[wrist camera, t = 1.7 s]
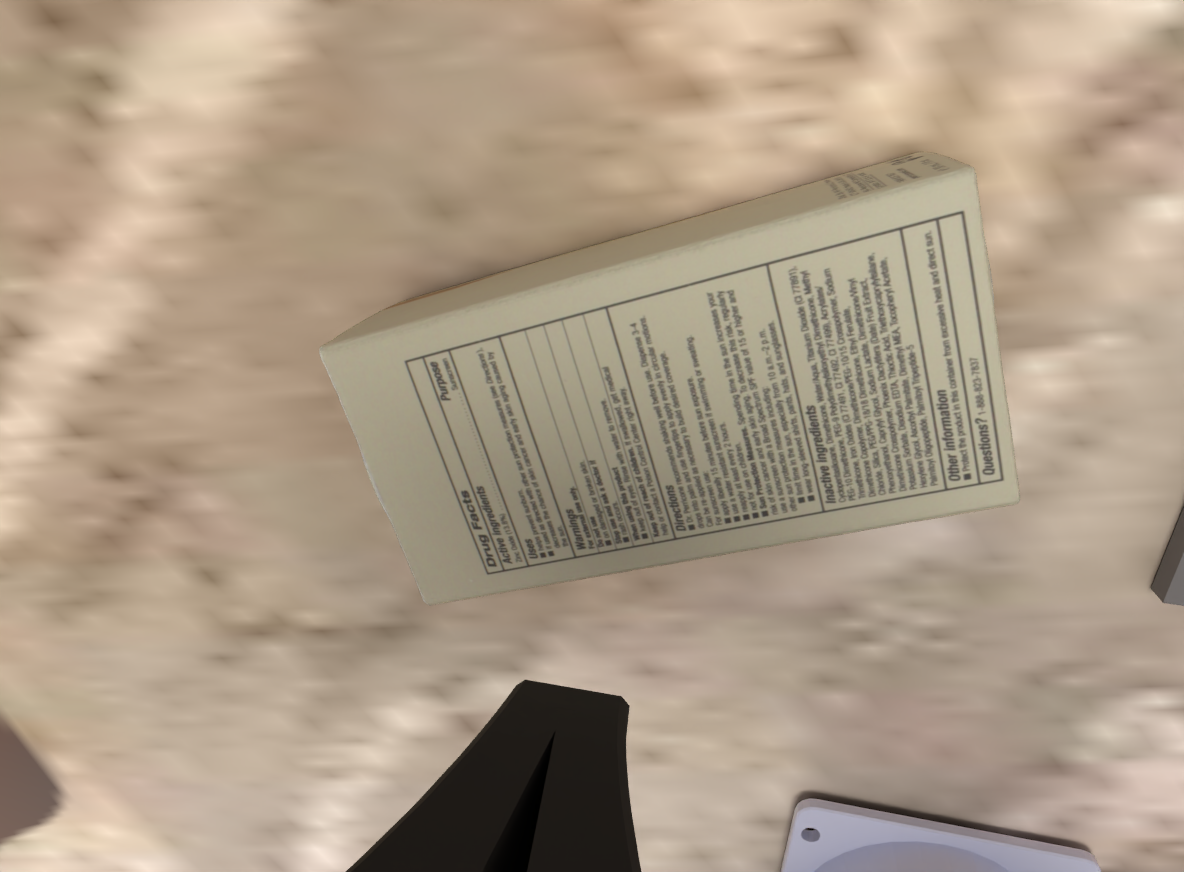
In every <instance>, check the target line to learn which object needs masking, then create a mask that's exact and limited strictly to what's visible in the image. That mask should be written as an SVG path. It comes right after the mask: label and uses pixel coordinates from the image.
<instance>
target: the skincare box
mask: <svg viewBox="0 0 1184 872" xmlns="http://www.w3.org/2000/svg"><path fill="white" fill-rule="evenodd" d="M320 356H321V359H322V362H323V363H324V365H325V368H326V370H327V372H328V374H329V377H330V379H331V381H332V384H333V386H334V388H335V390H336V392H337V394H338V397H339V400H340V402H341V405H342V407H343V409H344V412H345V414H346V416H347V419H348V421H349V423H350V426H351V428H352V430H353V432H354V435H355V437H356V440H357V442H358V445H359V448H360V450H361V453H362V457H363V461H364V464H365V467H366V470H367V473H368V475H369V478H370V481H371V483H372V486H373V488H374V490H375V493H376V495H377V497H378V499H379V501H380V503H381V505H382V507H383V509H384V511H385V512H386V514H387V516H388V518H389V519H390V521H391V524H392V526H393V528H394V530H395V533H396V535H397V538H398V541H399V543H400V546H401V548H402V550H403V552H404V554H405V557H406V559H407V562H408V564H409V566H410V569H411V571H412V574H413V576H414V578H415V581H416V583H417V585H418V588H419V591H420V594H421V596H422V599H423V601H424V602H425V603H426V604H427V605H429V606H430V605H436V604H442V603H448V602H453V601H459V600H465V599H470V598H476V597H481V596H488V595H494V594H499V593H505V592H510V591H516V590H522V589H528V588H533V587H539V586H545V585H551V584H557V583H563V582H568V581H574V580H580V579H586V578H592V577H597V576H603V575H609V574H615V573H620V572H626V571H632V570H637V569H643V568H650V567H656V566H662V565H667V564H673V563H679V562H684V561H690V560H696V559H702V558H708V557H714V556H719V555H725V554H730V553H735V552H741V551H747V550H753V549H759V548H765V547H771V546H777V545H783V544H788V543H794V542H800V541H806V540H811V539H816V538H823V537H830V536H836V535H842V534H847V533H853V532H859V531H864V530H870V529H875V528H881V527H887V526H892V525H898V524H904V523H909V522H916V521H922V520H928V519H935V518H941V517H946V516H952V515H957V514H963V513H970V512H976V511H981V510H987V509H992V508H998V507H1004V506H1010V505H1015V504H1017V503H1018V502H1019V501H1020V493H1019V484H1018V478H1017V472H1016V464H1015V456H1014V447H1013V440H1012V433H1011V426H1010V418H1009V410H1008V403H1007V397H1006V390H1005V383H1004V377H1003V370H1002V363H1001V355H1000V348H999V342H998V334H997V325H996V317H995V310H994V295H993V286H992V277H991V271H990V265H989V260H988V254H987V248H986V243H985V238H984V232H983V225H982V218H981V210H980V203H979V195H978V187H977V177H976V173H975V170H974V168H973V167H971V166H970V165H967V164H964V163H962V162H959V161H956V160H954V159H952V158H949V157H946V156H943V155H939V154H937V153H930V152H918V153H914V154H911V155H907V156H903V157H900V158H897V159H893V160H890V161H886V162H883V163H879V164H876V165H872V166H869V167H866V168H862V169H859V170H855V171H852V172H848V173H845V174H841V175H838V176H834V177H831V178H827V179H824V180H820V181H817V182H813V183H810V184H806V185H803V186H799V187H796V188H792V189H789V190H785V191H781V192H778V193H774V194H771V195H767V196H764V197H760V198H757V199H754V200H750V201H747V202H744V203H740V204H737V205H734V206H730V207H727V208H723V209H720V210H716V211H713V212H709V213H706V214H702V215H699V216H695V217H692V218H688V219H685V220H681V221H678V222H674V223H671V224H667V225H664V226H660V227H657V228H653V229H650V230H646V231H643V232H639V233H636V234H632V235H629V236H625V237H622V238H618V239H615V240H611V241H607V242H604V243H600V244H597V245H593V246H590V247H586V248H583V249H579V250H576V251H572V252H569V253H565V254H562V255H559V256H555V257H552V258H548V259H545V260H542V261H538V262H535V263H531V264H528V265H525V266H521V267H518V268H514V269H511V270H507V271H504V272H500V273H497V274H493V275H490V276H486V277H483V278H480V279H476V280H473V281H470V282H466V283H463V284H459V285H456V286H452V287H449V288H445V289H442V290H439V291H435V292H432V293H429V294H425V295H422V296H419V297H415V298H412V299H409V300H405V301H402V302H399V303H397V304H395V305H393V306H391V307H388V308H386V309H384V310H382V311H380V312H378V313H376V314H374V315H373V316H371V317H369V318H367V319H365V320H364V321H362V322H360V323H359V324H357V325H355V326H353V327H352V328H350V329H349V330H347V331H345V332H344V333H342V334H340V335H339V336H337V337H336V338H334V339H333V340H331V341H330V342H328V343H326V344H324V345H323V346H321V347H320Z"/></svg>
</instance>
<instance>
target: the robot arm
mask: <svg viewBox="0 0 1184 872" xmlns="http://www.w3.org/2000/svg"><path fill="white" fill-rule="evenodd" d="M628 715H629V705H628V704H627V702H626V701H625V700H624V699H623V698H622V696H616V695H610V694H604V693H599V692H593V691H587V690H581V689H576V688H570V687H564V686H558V685H552V684H547V683H541V682H535V681H529V680H524V681H523V682H521V683H520V684H518V685H516V687H515V688H514V689H513V691H512V692H511V693H510V695H509V696H508V698H507V699H506V700H505V702H504V703H503V704H502V705H501V707H500V708H499V709H498V711H497V712H496V713H495V714H494V716H493V717H492V718H491V719H490V721H489V722H488V723H487V724H486V725H485V727H484V728H483V729H482V730H481V732H480V733H479V734H478V735H477V736H476V737H475V739H474V740H473V741H472V742H471V743H470V744H469V746H468V747H467V748H466V749H465V750H464V751H463V753H462V754H461V755H460V756H459V757H458V758H457V759H456V761H455V762H454V763H453V764H452V765H451V766H450V767H449V768H448V769H447V770H446V771H445V773H444V774H443V775H442V776H441V777H440V778H439V779H438V780H437V781H436V782H435V783H434V785H433V786H432V787H431V788H430V789H429V790H428V791H427V792H426V793H425V794H424V795H423V797H422V798H421V799H420V800H419V801H418V802H417V803H416V804H415V805H414V806H413V807H412V808H411V809H410V810H409V811H408V812H407V813H406V814H405V815H404V816H403V817H402V818H401V819H400V820H399V821H398V822H397V823H396V824H395V825H394V826H393V827H392V828H391V829H390V830H389V831H388V832H387V833H386V834H385V835H384V836H383V837H382V838H381V839H379V840H378V841H377V842H376V843H375V844H374V845H373V846H372V847H371V848H370V849H369V850H368V851H367V852H366V853H365V854H364V855H363V856H362V857H361V858H360V859H359V860H358V861H357V862H356V863H355V864H354V865H353V866H351V867H350V868H349V869H348V870H347V871H346V872H641V868H640V862H639V857H638V851H637V844H636V838H635V832H634V825H633V819H632V813H631V805H630V797H629V788H628V775H627V762H626V734H627V725H628ZM806 828H814V829H815V830H806ZM781 872H1101V869H1100V867H1099V865H1098V863H1097V861H1096V859H1095V856H1093V855H1092V854H1091V853H1090V852H1087V851H1085V850H1081V849H1076V848H1071V847H1066V846H1060V845H1055V844H1050V843H1045V842H1039V841H1034V840H1029V839H1024V838H1019V837H1013V836H1008V835H1003V834H998V833H992V832H987V831H982V830H977V829H972V828H966V827H961V826H956V825H951V824H945V823H940V822H935V821H930V820H924V819H919V818H914V817H909V816H904V815H898V814H893V813H888V812H883V811H877V810H872V809H867V808H862V807H857V806H851V805H846V804H841V803H836V802H830V801H825V800H820V799H811V798H809V799H805V800H802V801H801V802H799V803H798V804H797V806H796V807H795V811H794V815H793V819H792V824H791V828H790V833H789V837H788V841H787V846H786V850H785V854H784V859H783V863H782V868H781Z"/></svg>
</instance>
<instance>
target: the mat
mask: <svg viewBox="0 0 1184 872" xmlns="http://www.w3.org/2000/svg"><path fill="white" fill-rule="evenodd" d="M1151 589H1152V590H1153V591H1154V592H1155V594H1156V595H1157V596H1158V597H1159V598H1160V600H1161V601H1162V602H1163V603H1169V604H1175V605H1182V606H1184V507H1183V510H1182V512H1181V515H1180V517H1179V520H1178V522H1177V525H1176V527H1175V530H1174V532H1173V535H1172V537H1171V540H1170V542H1169V545H1168V547H1167V550H1166V552H1165V555H1164V557H1163V560H1162V562H1161V565H1160V567H1159V570H1158V572H1157V575H1156V577H1155V580H1154V582H1153V585H1152V587H1151Z"/></svg>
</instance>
